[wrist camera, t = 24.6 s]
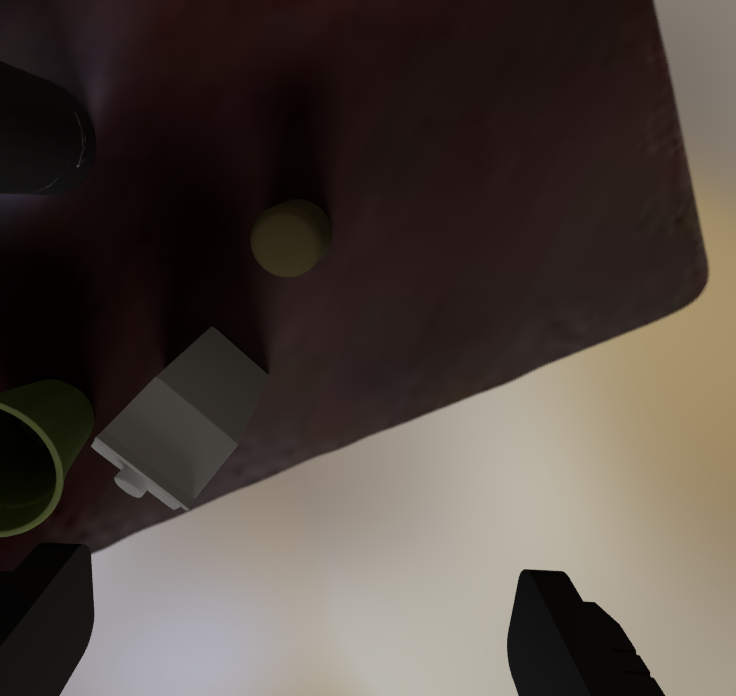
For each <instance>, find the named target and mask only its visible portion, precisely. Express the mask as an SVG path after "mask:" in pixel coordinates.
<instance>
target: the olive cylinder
mask: <svg viewBox="0 0 736 696" xmlns="http://www.w3.org/2000/svg"><path fill="white" fill-rule="evenodd" d="M331 240H332V227H331V224H330V222H329V219H328V217H327V215H326V214H325V213H324V212H323V210H322V209H321V208H320V207H318V206H317V205H315V204H314V203H312V202H310V201H306V200H303V199H292V200H288V201H285V202H283V203H280V204H279V205H276V206H274V207H271V208H269V209H267V210H265V211H264V212H263V213H262V214H261V215H260V216H258V218H257V220H256V221H255V223H254V225H253V227H252V231H251V236H250V241H251V249H252V252H253V254H254V256H255V258H256V260H257V261H258V263H259V264H260V265H261V266H262V267H263V268H264V269H265V270H267V271H268V272H270V273H272V274H273V275H277V276H281V277H296V276H299V275H301V274H304V273H306V272H307V271H308V270H309V269H311V268H312V267H313V266H314V265H315V264H316V263H317V262H318V261H319V260H321V259H322V258H323V257H324V256H325V254H326V253H327V251H328V250H329V248H330V244H331Z"/></svg>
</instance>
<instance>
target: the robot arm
mask: <svg viewBox="0 0 736 696" xmlns="http://www.w3.org/2000/svg"><path fill="white" fill-rule="evenodd" d="M94 151H95V140H94V133H93V129H92V126H91V123H90V120H89V118H88V116H87V114H86V113H85V111H84V109H83V107H82V106H81V105H80V104H79V103H78V101H77V100H76V99H75V98H74V97H73V96H72V95H71V94H70V93H68V92H67V91H66V90H65V89H64V88H62V87H60V86H58V85H56V84H55V83H53V82H50V81H48V80H46V79H43V78H41V77H38V76H36V75H33V74H31V73H28V72H26V71H24V70H21V69H19V68H16V67H14V66H11V65H9V64H6V63H4V62H2V61H0V194H31V195H51V194H59V193H62V192H65V191H68V190H70V189H71V188H73V187H75V186H76V185H78V184H79V183H80V182H81V181H82V179H83V178H84V177H85V176H86V175H87V173H88V171H89V169H90V167H91V165H92V161H93V158H94ZM93 624H94V600H93V583H92V564H91V552H90V549H89V547H88V546H87V545H83V544H64V543H46V542H44V543H40V544H38V545H37V546H36V547H35V548H34V549H33V550H32V551H31V552H30V553H29V554H28V556H27V557H26V558H25V559H24V560H23V561H22V562H21V563H20V564H19V565H18V567H17V568H16V569H15V570H14V571H13V572H9V571H1V572H0V696H59V695H60V694H61V692H62V690H63V689H64V687H65V685H66V683H67V682H68V680H69V678H70V677H71V675H72V673H73V672H74V670H75V668H76V666H77V665H78V663H79V661H80V659H81V658H82V656H83V654H84V652H85V650H86V648H87V646H88V643H89V640H90V637H91V633H92V629H93ZM507 652H508V662H509V667H510V671H511V675H512V678H513V680H514V683H515V686H516V689H517V692H518V695H519V696H665V695H664V693H663V691H662V690H661V688H660V687H659V685H658V684H657V682H656V681H655V679H654V678H651V676H650V671H649V670H648V668H647V667H646V665H645V663H644V662H643V660H642V659H641V657H640V656H639V655H637V654H636V650H635V648H634V646H633V645H632V643H631V642H630V640H629V639H628V637H627V636H626V634H625V632H624V631H623V629H622V628H621V626H620V625H619V624H618V623H617V622H616V621H615V620H614V619H613V618H612V617H611V616H610V615H608V614H607V613H606V612H605V611H604V610H603V609H602V608H601V607H599V606H598V605H597V604H596V603H595V602H583V600H582V599H581V597H580V595H579V594H578V592H577V590H576V588H575V587H574V585H573V583H572V582H571V580H570V578H569V577H568V575H566V573H565V572H562V571H547V570H527V569H526V570H525V569H524V570H523V571H522V572H521V574H520V576H519V580H518V585H517V590H516V595H515V600H514V605H513V611H512V616H511V621H510V626H509V631H508V638H507Z"/></svg>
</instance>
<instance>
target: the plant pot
mask: <svg viewBox="0 0 736 696" xmlns="http://www.w3.org/2000/svg"><path fill="white" fill-rule="evenodd" d="M94 420H95V419H94V411H93V408H92V405H91V403H90V401H89V400H88V398H87V397H86V396H85V394H84V393H83V392H82V391H81V390H79V389H78V388H77V387H74V386H72V385H69V384H67V383H65V382H63V381H60V380H54V379H47V380H41V381H37V382H34V383H31V384H28V385H24V386H21V387H18V388H14V389H11V390H8V391H5V392H1V393H0V537H7V536H12V535H16V534H20V533H23V532H26V531H28V530H30V529H32V528H33V527H35V526H37V525H38V524H40V523H41V522H43V521H44V520H45V519H46V518H47V517H48V516H49V515H50V514H51V513H52V511H53V510H54V509H55V507H56V505H57V503H58V502H59V499H60V497H61V494H62V490H63V484H64V479H65V477H66V473H67V471H68V469H69V468H70V466H71V464H72V463H73V461H74V460H75V458H76V456H77V455H78V453H79V452H80V450H81V448H82V447H83V445H84V444H85V442H86V440H87V439H88V437H89V435H90V434H91V431H92V428H93V425H94Z"/></svg>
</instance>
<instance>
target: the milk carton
mask: <svg viewBox="0 0 736 696" xmlns="http://www.w3.org/2000/svg"><path fill="white" fill-rule="evenodd" d="M268 377H269V376H268V374H267V373H266V372H265V371H263V370H262V369H261V368H260V367H259V366H258V365H257V364H255V363H254V362H253V361H252V360H251V359H250V358H249V357H248V356H246V355H245V354H244V353H243V352H242V351H241V350H240V349H238V348H237V347H236V346H235V345H234V344H233V343H232V342H230V341H229V340H228V339H227V338H226V337H225V336H224V335H222V334H221V333H220V332H219V331H218V330H217V329H216V328H214V327H210V328H209V329H208V330H207V331H206V332H205V333H204V334H202V335H201V336H200V337H199V338H198V339H197V340H196V341H195V342H194V343H192V344H191V345H190V346H189V347H188V348H187V349H186V350H185V351H184V352H183V353H181V354H180V355H179V356H178V357H177V358H176V359H175V360H174V361H173V362H172V363H170V364H169V365H168V366H167V367H166V368H165V369H164V370H163V371H162V372H161V373H159V374H158V375H157V376H156V377H155V378H154V379H153V380H152V381H151V382H150V383H149V384H148V385H147V386H146V387H145V388H144V389H143V390H142V391H141V392H140V393H139V394H138V395H137V396H136V397H135V398H134V399H133V400H132V401H131V402H130V403H129V404H128V405H127V407H126V408H125V409H124V410H123V411H122V412H121V413H120V414H119V415H118V416H117V417H116V418H115V419H114V420H113V421H112V422H111V423H110V424H109V425H108V426H107V427H106V428H105V429H104V430H103V431H102V432H101V433H100V434H99V435H98V436H97V437H96V438H95V441H94V443H93V444H92V445H91V447H92V448H93V449H95V450H96V451H97V452H98V453H100V454H101V455H102V456H104V457H105V458H106V459H107V460H109V461H110V462H111V463H113V464H114V465H115V466H117V467H118V468H119V469H120V470H121V471H120V472H119V473H118V474H117V475H116V476H115V478H114V480H115V482H116V483H117V485H118V486H119V487H120V488H122V489H123V490H124V491H125V492H127V493H128V494H130V495H132V496H134V497H138V498H140V497H142V496H143V494H144V493H145V492H146V490H148V491H149V492H150V493H152V494H153V495H154V496H156V497H157V498H158V499H160V500H161V501H162V502H163V503H165V504H166V505H167V506H169V507H170V508H172V509H173V510H174V509H177V508H179V507H182V508H183V509H185V510H189V508H190V506H191V505H192V503H193V501H194V499H195V498H196V497H197V496H198V494H199V493H200V492H201V491H202V489H203V488H204V487H205V486H206V484H207V483H208V482H209V481H210V479H211V478H212V477H213V476H214V474H215V473H216V472H217V471H218V469H219V468H220V467H221V466H222V464H223V463H224V462H225V461H226V459H227V458H228V457H229V456H230V454H231V453H232V452H233V451H234V449H235V448H236V447H237V446H238V443H239V441H240V439H241V436H242V434H243V432H244V430H245V428H246V425H247V423H248V421H249V419H250V417H251V415H252V412H253V410H254V408H255V406H256V404H257V401H258V399H259V397H260V395H261V393H262V390H263V388H264V386H265V384H266V382H267V379H268Z"/></svg>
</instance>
